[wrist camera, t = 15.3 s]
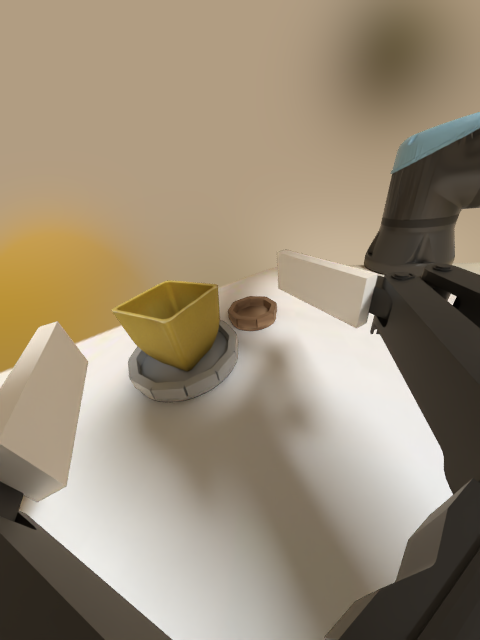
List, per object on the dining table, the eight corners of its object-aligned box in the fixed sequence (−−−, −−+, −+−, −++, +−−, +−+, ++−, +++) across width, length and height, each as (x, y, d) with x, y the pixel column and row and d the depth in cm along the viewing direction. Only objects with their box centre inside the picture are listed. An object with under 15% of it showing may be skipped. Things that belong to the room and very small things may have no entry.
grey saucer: (215, 319, 36) (212, 308, 35) (257, 366, 26) (256, 353, 25) (131, 351, 32) (126, 340, 31) (141, 425, 21) (132, 413, 20)
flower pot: (184, 331, 33) (166, 278, 29) (230, 341, 29) (219, 283, 25) (140, 368, 27) (108, 309, 22) (191, 389, 23) (166, 322, 18)
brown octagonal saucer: (259, 302, 40) (258, 292, 38) (285, 319, 34) (285, 307, 32) (224, 316, 37) (222, 306, 36) (245, 336, 31) (243, 325, 30)
